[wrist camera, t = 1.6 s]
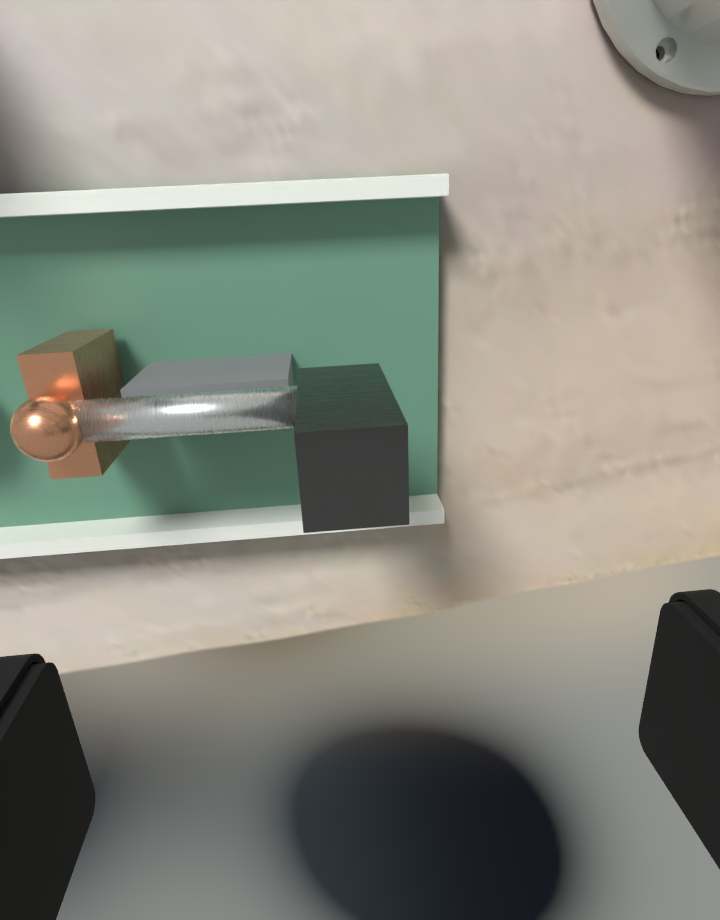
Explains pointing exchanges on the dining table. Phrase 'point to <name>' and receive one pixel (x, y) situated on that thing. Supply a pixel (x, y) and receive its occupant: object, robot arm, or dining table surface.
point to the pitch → (216, 341)
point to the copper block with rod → (223, 426)
